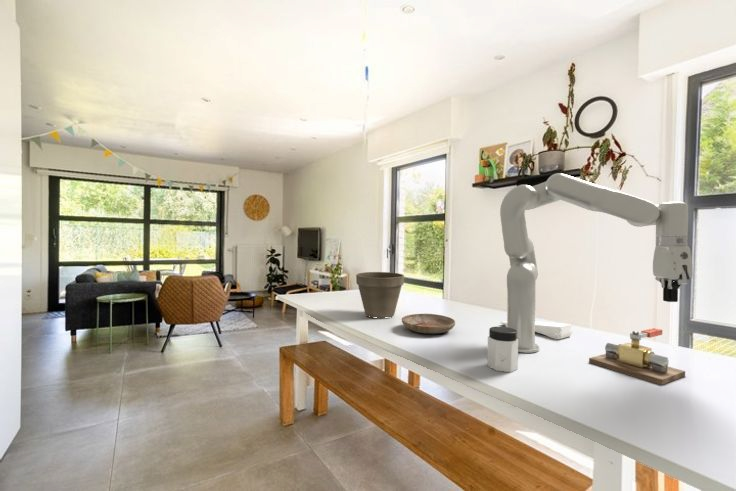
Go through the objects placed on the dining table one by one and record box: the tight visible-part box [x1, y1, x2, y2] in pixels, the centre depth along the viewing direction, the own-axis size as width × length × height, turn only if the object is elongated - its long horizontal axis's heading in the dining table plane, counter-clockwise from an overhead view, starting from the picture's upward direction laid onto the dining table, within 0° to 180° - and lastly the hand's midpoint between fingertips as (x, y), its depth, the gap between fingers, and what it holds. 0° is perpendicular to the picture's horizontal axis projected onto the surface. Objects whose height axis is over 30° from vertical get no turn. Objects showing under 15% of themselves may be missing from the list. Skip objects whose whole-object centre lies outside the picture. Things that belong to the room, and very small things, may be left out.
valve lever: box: [629, 327, 663, 341], centre depth 115 cm, size 15×3×2 cm, turn 118°
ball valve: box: [604, 339, 669, 374], centre depth 112 cm, size 5×16×8 cm, turn 28°
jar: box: [486, 326, 519, 373], centre depth 112 cm, size 9×8×12 cm
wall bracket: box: [500, 320, 573, 340], centre depth 157 cm, size 10×7×28 cm
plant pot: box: [355, 271, 405, 318], centre depth 185 cm, size 25×25×22 cm
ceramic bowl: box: [401, 313, 456, 335], centre depth 157 cm, size 23×24×5 cm
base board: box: [588, 353, 686, 386], centre depth 112 cm, size 14×20×2 cm
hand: (670, 301), depth 111 cm, fingers closed
